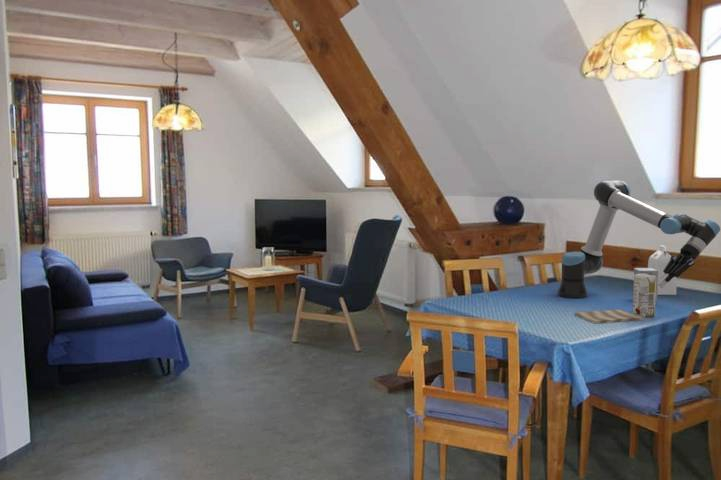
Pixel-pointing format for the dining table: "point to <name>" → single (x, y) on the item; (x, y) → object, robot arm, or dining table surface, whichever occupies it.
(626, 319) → the wooden board
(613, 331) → the dining table surface
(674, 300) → the dining table surface
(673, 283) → the milk
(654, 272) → the supplement box
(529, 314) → the dining table surface
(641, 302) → the juice carton
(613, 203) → the robot arm
